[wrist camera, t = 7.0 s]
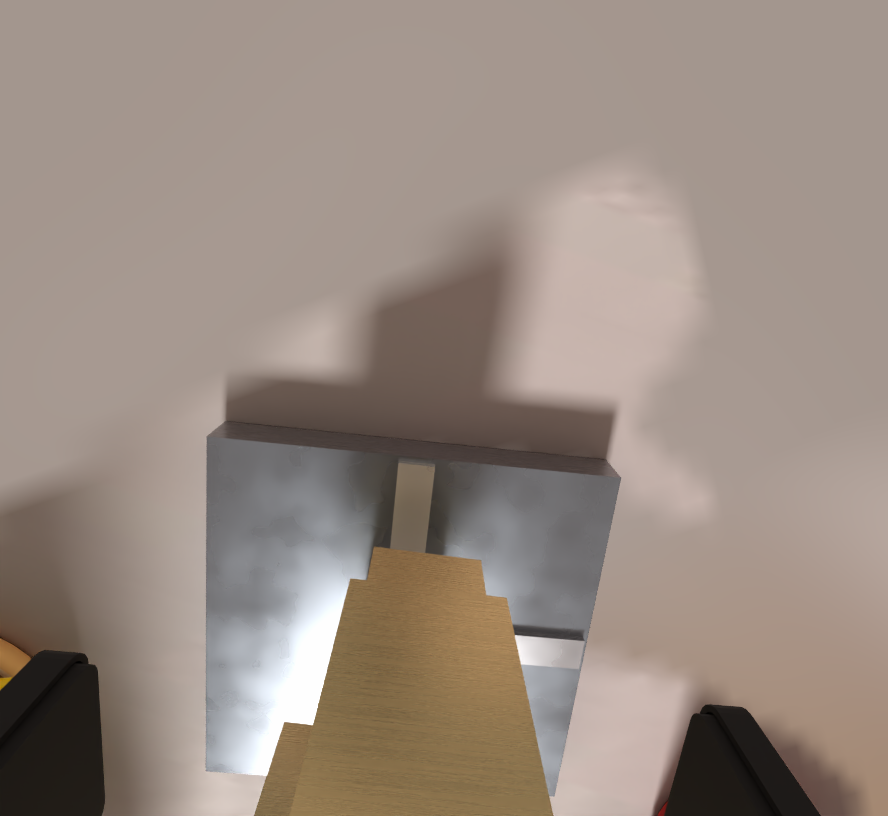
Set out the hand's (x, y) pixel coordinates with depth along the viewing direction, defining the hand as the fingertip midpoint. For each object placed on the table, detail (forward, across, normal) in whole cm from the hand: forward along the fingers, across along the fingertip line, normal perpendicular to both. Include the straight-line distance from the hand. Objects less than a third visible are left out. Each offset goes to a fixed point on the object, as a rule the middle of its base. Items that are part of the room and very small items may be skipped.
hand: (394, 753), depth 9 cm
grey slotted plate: (+15, 0, +8) cm, 17 cm away
